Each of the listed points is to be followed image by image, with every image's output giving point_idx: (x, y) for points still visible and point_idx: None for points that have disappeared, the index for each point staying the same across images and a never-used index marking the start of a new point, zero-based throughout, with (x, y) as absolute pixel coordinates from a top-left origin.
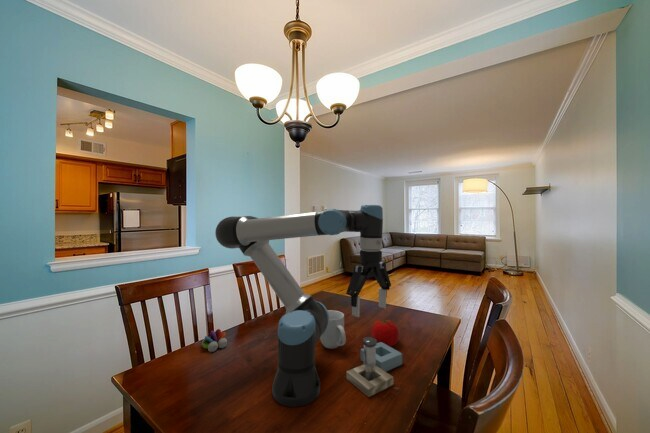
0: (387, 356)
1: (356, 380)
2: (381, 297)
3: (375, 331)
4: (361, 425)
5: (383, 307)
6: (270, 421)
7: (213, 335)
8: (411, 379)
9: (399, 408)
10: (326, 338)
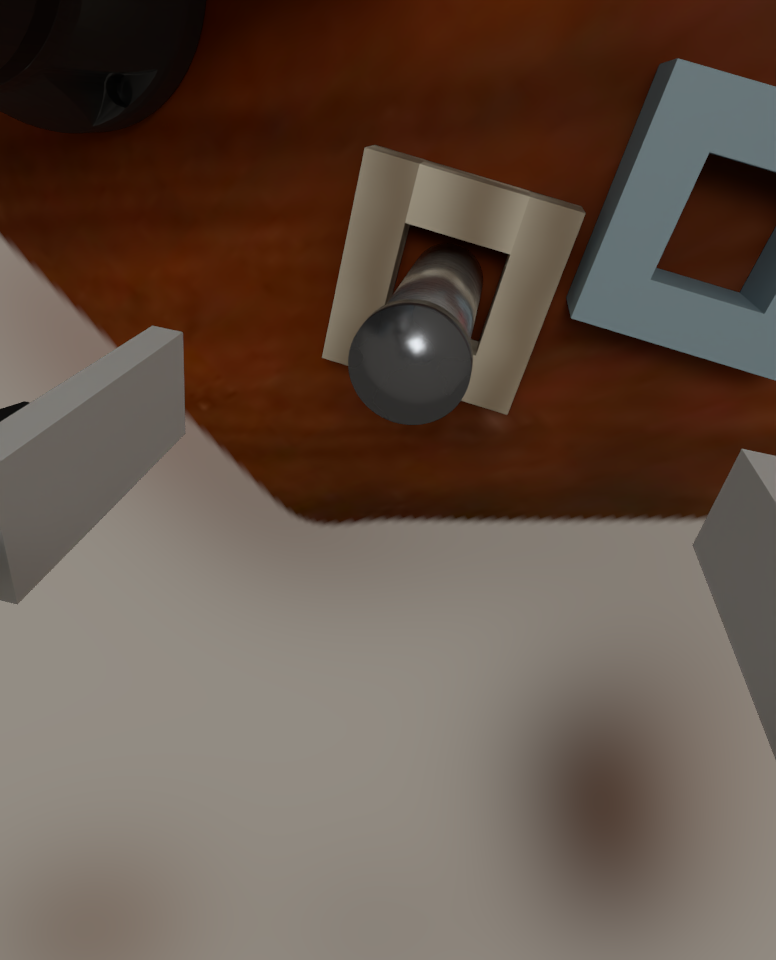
0: (681, 315)
1: (343, 256)
2: (768, 599)
3: None
4: None
5: (703, 535)
6: None
7: None
8: (617, 453)
9: (370, 478)
10: None
